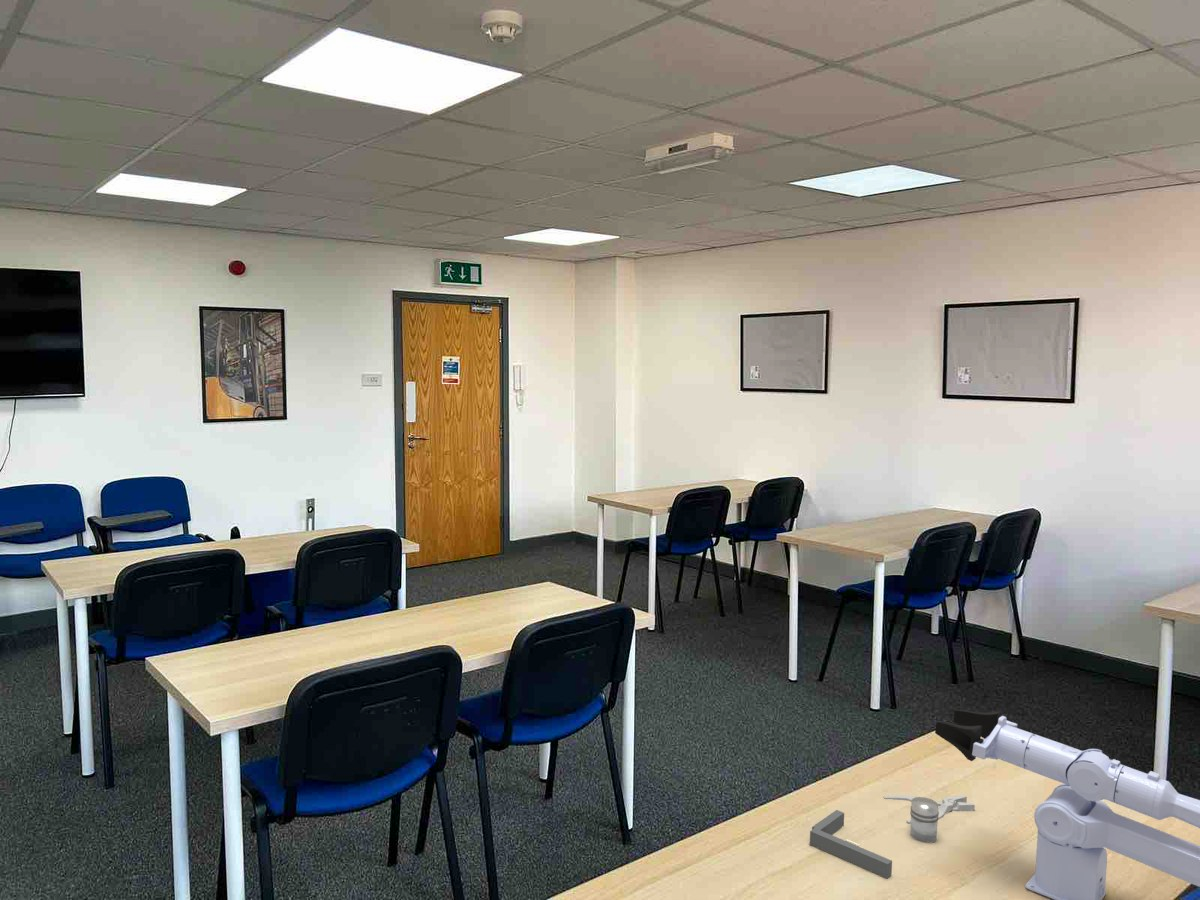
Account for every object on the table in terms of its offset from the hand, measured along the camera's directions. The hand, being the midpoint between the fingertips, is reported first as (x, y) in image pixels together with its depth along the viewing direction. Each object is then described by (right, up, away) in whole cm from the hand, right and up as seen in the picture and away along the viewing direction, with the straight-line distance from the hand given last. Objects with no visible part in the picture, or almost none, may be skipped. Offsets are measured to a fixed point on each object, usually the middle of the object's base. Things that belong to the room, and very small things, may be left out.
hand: (945, 721), depth 145 cm
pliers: (+3, -21, +14) cm, 25 cm away
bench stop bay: (-15, -21, -1) cm, 26 cm away
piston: (-2, -21, +4) cm, 22 cm away
